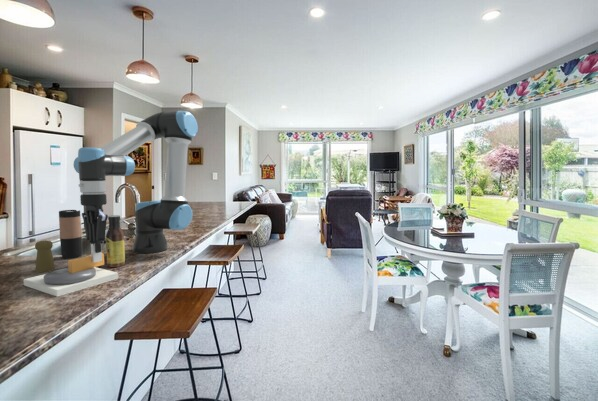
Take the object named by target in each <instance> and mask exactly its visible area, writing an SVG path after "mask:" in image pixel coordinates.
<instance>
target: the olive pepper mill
mask: <svg viewBox="0 0 598 401" xmlns="http://www.w3.org/2000/svg"><path fill="white" fill-rule="evenodd" d="M34 248H35V250H36V262H35V268H34V269H35V273H46V272H52V271H55V269H56V264H55V260H54V255H53V251H52V248H53V242H52V240H47V239H46V240H39V241H37V242H36V243H35V245H34Z"/></svg>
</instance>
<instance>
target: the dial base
mask: <svg viewBox="0 0 598 401" xmlns="http://www.w3.org/2000/svg"><path fill="white" fill-rule="evenodd" d="M93 268H95V269H96V275H95V276H94V277H92V278H90V279H87V280H84V281H80V282H76V283H70V284H60V285H52V284H46V283H44V275H46V274H47V273H44V274H41V275H36V276H32V277H27V278H23V286H25V287H27V288H31V289H33V290H37V291H39V292H42V293H45V294H48V295H51V296H54V297H61V296H64V295H68V294H72V293H74V292H77V291H81V290H84V289H88V288H91V287H95V286H97V285H100V284H104V283H108V282H110V281H114V280H117V279H119V272H116V271H112V270H109V269H105V268H99V267H93Z"/></svg>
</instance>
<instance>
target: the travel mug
mask: <svg viewBox="0 0 598 401" xmlns="http://www.w3.org/2000/svg"><path fill="white" fill-rule="evenodd" d="M81 217H82V216H81V210H77V209H63V210H59V211H58V222H59V225H58V226H59V227H58V228H59V241H60V252H61V258H62V259H64V260H72V259H76V258H81V257H83V239H82V237H83V236H82V222H81V221H82V220H81Z"/></svg>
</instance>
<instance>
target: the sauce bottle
mask: <svg viewBox="0 0 598 401" xmlns="http://www.w3.org/2000/svg"><path fill="white" fill-rule="evenodd" d="M107 221H108V229H107V232H106V234H105V245H106V246H105V249H106V263H107V267H109V268H119V267H123V266H124V265H125V264H126V262H125V261H126V252H125V251H126V250H125V249H126V248H125V245H126V244H125V233H124V231H123V228H121V216H120V215H119V214H114V215H109V216H108V218H107Z"/></svg>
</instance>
